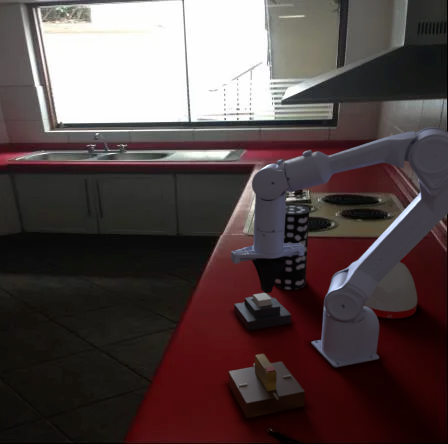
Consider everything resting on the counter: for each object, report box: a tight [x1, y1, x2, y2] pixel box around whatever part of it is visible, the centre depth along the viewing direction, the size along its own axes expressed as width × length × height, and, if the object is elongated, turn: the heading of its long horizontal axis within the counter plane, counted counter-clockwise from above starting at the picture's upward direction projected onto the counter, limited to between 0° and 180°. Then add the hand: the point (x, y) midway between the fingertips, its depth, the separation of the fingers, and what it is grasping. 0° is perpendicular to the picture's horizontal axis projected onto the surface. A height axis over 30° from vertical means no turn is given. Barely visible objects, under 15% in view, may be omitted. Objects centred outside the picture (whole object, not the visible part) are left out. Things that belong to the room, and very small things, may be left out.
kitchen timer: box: [364, 246, 418, 319], centre depth 95 cm, size 14×14×15 cm
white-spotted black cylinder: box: [274, 204, 311, 290], centre depth 107 cm, size 8×8×20 cm
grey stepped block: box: [233, 293, 292, 331], centre depth 93 cm, size 10×8×4 cm
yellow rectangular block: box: [254, 353, 277, 391], centre depth 69 cm, size 5×2×4 cm, turn 11°
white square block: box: [252, 292, 271, 307], centre depth 93 cm, size 3×3×2 cm
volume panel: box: [228, 361, 306, 419], centre depth 70 cm, size 10×9×3 cm
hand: (266, 290), depth 84 cm, fingers closed
